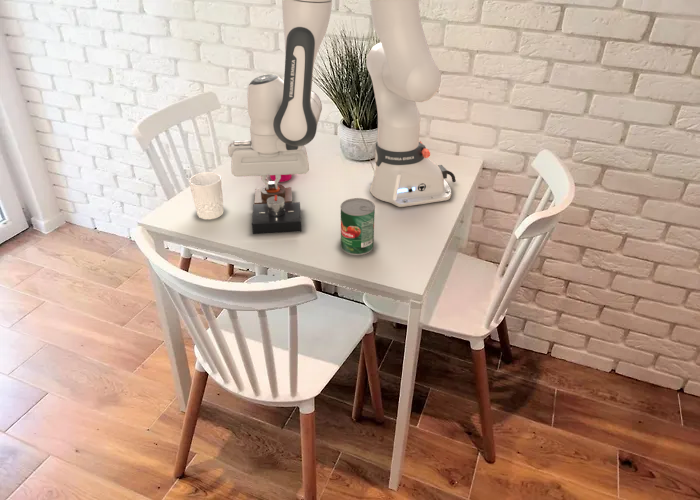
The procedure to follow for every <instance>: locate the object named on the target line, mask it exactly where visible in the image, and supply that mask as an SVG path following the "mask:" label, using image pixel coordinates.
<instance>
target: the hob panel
mask: <svg viewBox="0 0 700 500" xmlns="http://www.w3.org/2000/svg"><path fill="white" fill-rule="evenodd" d="M301 215H302V214H301V202H300V201H294V202H293V201H292V202H290V203H285V214H284V215H282V216H278V217H274V216H270V215H269V214H268V209H267V204H254V203H253V205H252V217H251V218H252V219H251V229H252V234H253V235H263V234H281V233H282V234H283V233H299V232H300V233H301V232H303V231H302V216H301Z"/></svg>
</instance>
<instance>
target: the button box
mask: <svg viewBox="0 0 700 500" xmlns="http://www.w3.org/2000/svg"><path fill="white" fill-rule="evenodd" d="M277 186H278V187H279V188H280V191H279V192H275V193H269V192H267V191H266V188H267V187H266V184H265V185H263V186H262V187H260V188H255V190H254V201H253V204H267V199H268V198H270V197H273V196H275V195H277V196H280V197H283V198H284V200H285V203H290V202H293V188H292V187H285V186H284V185H283V184H280V183H278V184H277Z"/></svg>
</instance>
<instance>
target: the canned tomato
mask: <svg viewBox="0 0 700 500" xmlns="http://www.w3.org/2000/svg"><path fill="white" fill-rule="evenodd" d="M375 209H376V205H375V203H374V202H373V201H371V200H370V199H367V198H362V197H352V198H349V199H346V200H343V201H342V202H341V203H340V249H341V250H342V252H344V253H346V254H347V255H351V256H364V255H367V254H369V253H371V252H372V251H373V250H374V246H375V245H374V241H375V236H374V235H375V214H376V213H375Z"/></svg>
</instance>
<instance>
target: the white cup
mask: <svg viewBox="0 0 700 500" xmlns="http://www.w3.org/2000/svg"><path fill="white" fill-rule="evenodd" d="M188 183H189V186H190V192H191V196H192V201H193V205H194V207H195V211H196V215H197V217H198V218H199V219H202V220H215V219H217V218H220V217H221V216H222V215H224V198H223V197H224V195H223V186H222V176H221V175H220V174H219V173H217V172H211V171H206V172H205V171H204V172H199V173H196V174H194V175H191V176H190V177H189V179H188Z"/></svg>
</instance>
